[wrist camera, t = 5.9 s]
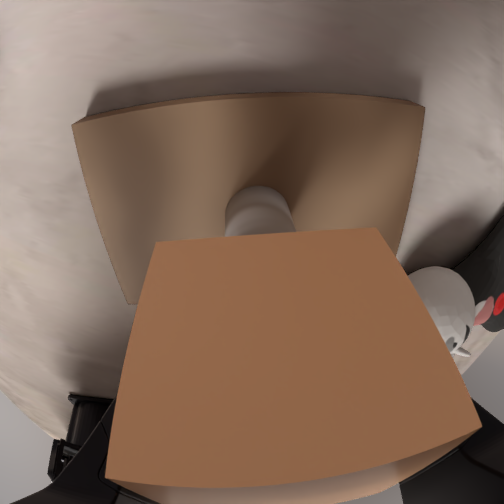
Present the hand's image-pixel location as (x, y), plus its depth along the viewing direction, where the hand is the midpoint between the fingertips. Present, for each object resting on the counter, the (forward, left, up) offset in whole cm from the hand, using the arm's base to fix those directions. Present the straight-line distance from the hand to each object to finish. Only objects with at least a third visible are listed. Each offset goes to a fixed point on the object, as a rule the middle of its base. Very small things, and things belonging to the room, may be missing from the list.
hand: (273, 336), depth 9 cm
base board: (0, 0, -9) cm, 9 cm away
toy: (+16, -8, -9) cm, 20 cm away
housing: (0, 0, -1) cm, 1 cm away
